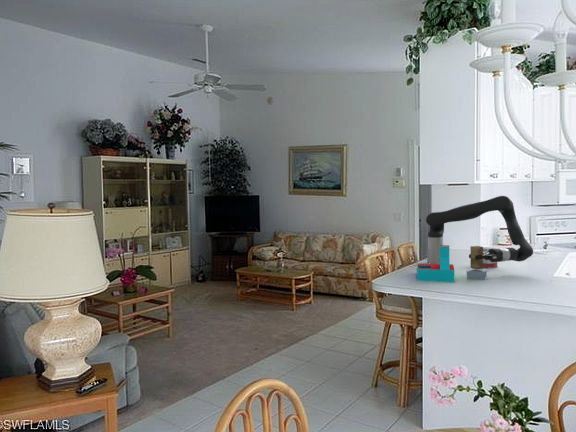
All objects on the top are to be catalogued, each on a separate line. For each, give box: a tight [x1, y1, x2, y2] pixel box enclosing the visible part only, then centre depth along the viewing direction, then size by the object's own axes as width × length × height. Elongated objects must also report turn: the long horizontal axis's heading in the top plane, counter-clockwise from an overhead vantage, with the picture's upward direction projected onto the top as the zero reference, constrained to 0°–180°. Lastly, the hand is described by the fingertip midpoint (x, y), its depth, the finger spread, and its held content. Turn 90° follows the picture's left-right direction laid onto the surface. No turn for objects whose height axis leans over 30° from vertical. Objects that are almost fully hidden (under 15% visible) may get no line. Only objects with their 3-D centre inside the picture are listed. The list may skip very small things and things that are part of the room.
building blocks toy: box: [416, 244, 455, 283], centre depth 260 cm, size 19×25×18 cm
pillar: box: [470, 245, 484, 269], centre depth 256 cm, size 4×4×12 cm
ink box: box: [482, 246, 498, 268], centre depth 291 cm, size 9×9×12 cm
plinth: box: [466, 268, 488, 281], centre depth 256 cm, size 9×9×4 cm
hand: (472, 256), depth 255 cm, fingers closed on pillar, 4 cm apart
